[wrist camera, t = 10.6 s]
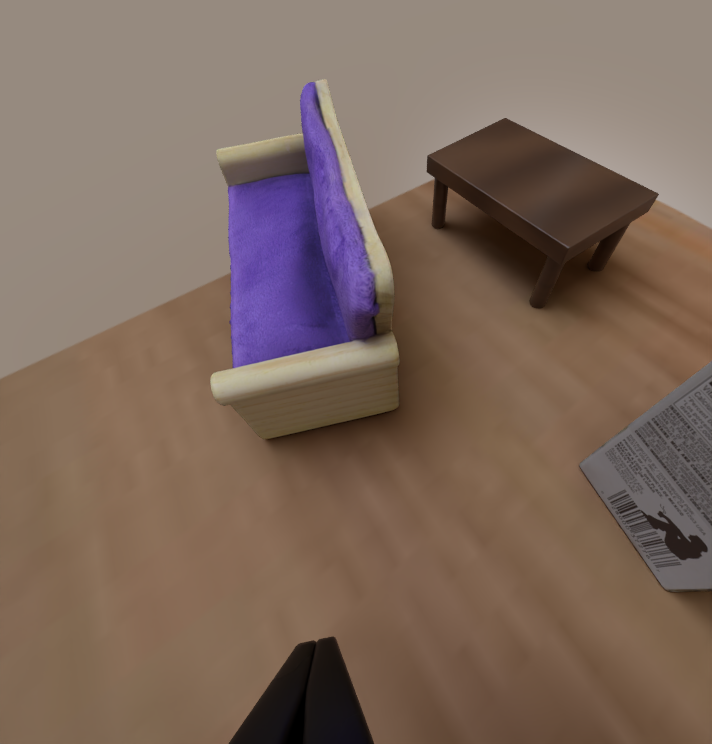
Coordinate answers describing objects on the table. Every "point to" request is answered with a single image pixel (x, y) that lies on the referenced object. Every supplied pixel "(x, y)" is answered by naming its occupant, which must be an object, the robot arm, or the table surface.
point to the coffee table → (539, 195)
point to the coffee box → (664, 484)
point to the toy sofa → (305, 283)
